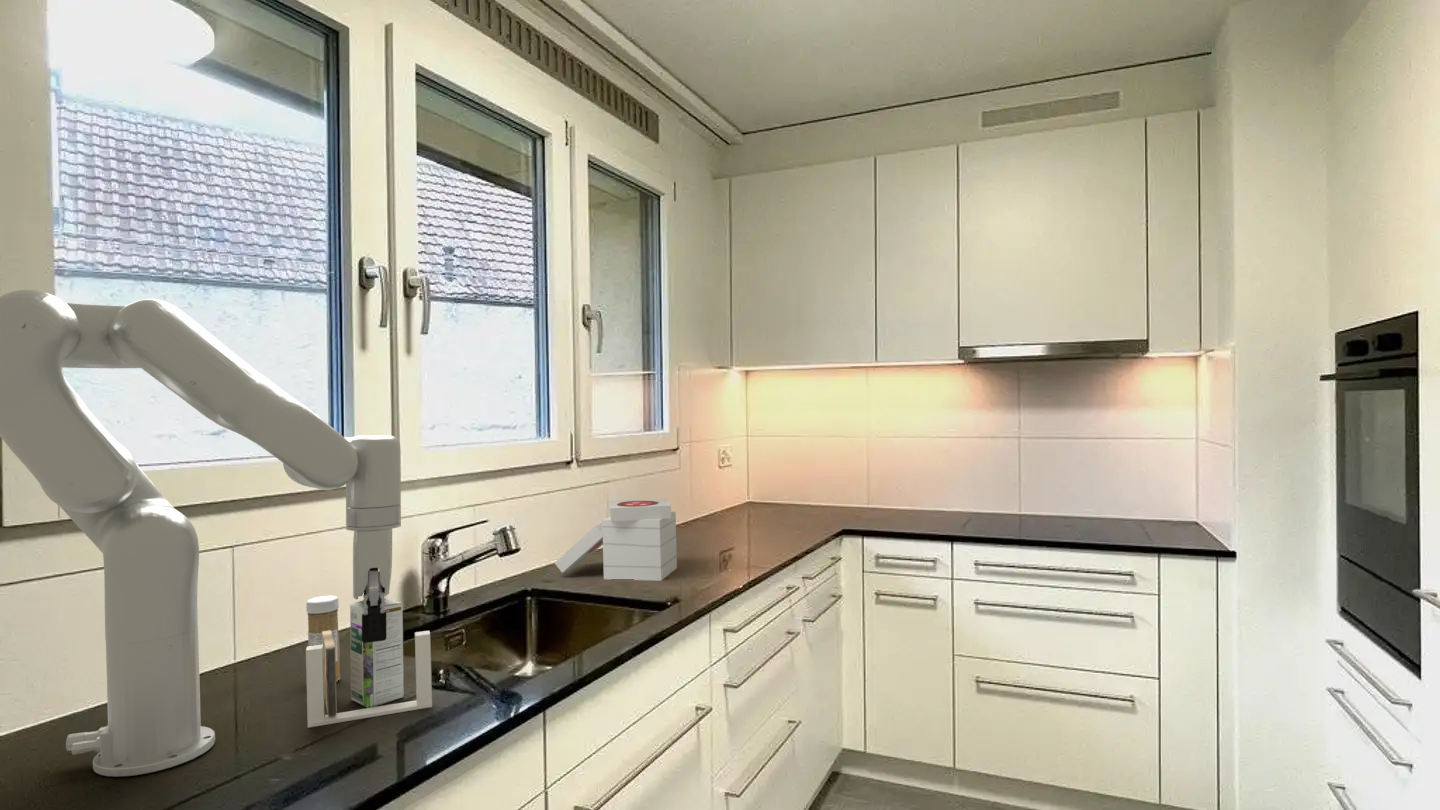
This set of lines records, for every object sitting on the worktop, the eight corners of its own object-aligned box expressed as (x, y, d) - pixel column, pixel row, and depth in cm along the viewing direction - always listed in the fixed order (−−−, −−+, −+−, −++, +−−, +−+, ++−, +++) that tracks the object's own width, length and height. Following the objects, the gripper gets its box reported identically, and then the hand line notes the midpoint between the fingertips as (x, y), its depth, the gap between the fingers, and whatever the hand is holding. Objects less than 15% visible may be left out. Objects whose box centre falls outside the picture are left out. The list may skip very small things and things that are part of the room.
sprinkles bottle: (341, 675, 128) (339, 593, 128) (338, 684, 124) (336, 599, 124) (310, 679, 127) (308, 596, 127) (306, 689, 122) (304, 602, 122)
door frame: (307, 727, 107) (305, 650, 107) (309, 721, 109) (307, 646, 109) (432, 706, 114) (430, 634, 114) (431, 701, 116) (429, 630, 116)
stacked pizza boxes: (580, 564, 214) (578, 498, 214) (686, 566, 208) (684, 498, 208) (550, 580, 195) (548, 507, 195) (666, 583, 189) (664, 508, 189)
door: (338, 714, 109) (337, 648, 109) (327, 716, 109) (326, 650, 109) (333, 690, 119) (332, 630, 119) (323, 692, 118) (322, 631, 118)
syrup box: (349, 700, 117) (347, 603, 117) (388, 688, 121) (385, 595, 121) (367, 709, 113) (364, 609, 113) (406, 697, 118) (403, 600, 118)
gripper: (348, 512, 124) (348, 621, 124) (343, 526, 108) (344, 651, 108) (399, 510, 127) (400, 616, 127) (402, 523, 111) (403, 644, 111)
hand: (374, 632), depth 117 cm, fingers open, 9 cm apart
